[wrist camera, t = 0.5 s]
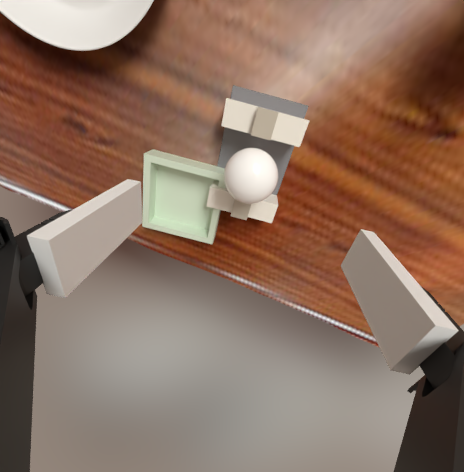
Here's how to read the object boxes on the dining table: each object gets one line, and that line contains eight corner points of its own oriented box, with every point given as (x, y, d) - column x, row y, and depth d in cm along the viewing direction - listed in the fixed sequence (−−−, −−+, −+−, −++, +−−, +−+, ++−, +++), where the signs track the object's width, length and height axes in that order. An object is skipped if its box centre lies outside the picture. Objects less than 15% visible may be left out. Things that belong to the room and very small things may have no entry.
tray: (150, 218, 40) (142, 226, 38) (153, 149, 34) (143, 153, 31) (215, 235, 40) (212, 244, 38) (230, 169, 34) (227, 175, 32)
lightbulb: (240, 188, 36) (232, 219, 26) (224, 148, 33) (210, 166, 23) (279, 174, 34) (287, 202, 24) (267, 131, 31) (269, 143, 22)
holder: (210, 203, 38) (203, 218, 33) (233, 85, 29) (228, 82, 24) (267, 217, 38) (268, 235, 33) (307, 105, 30) (316, 106, 25)
